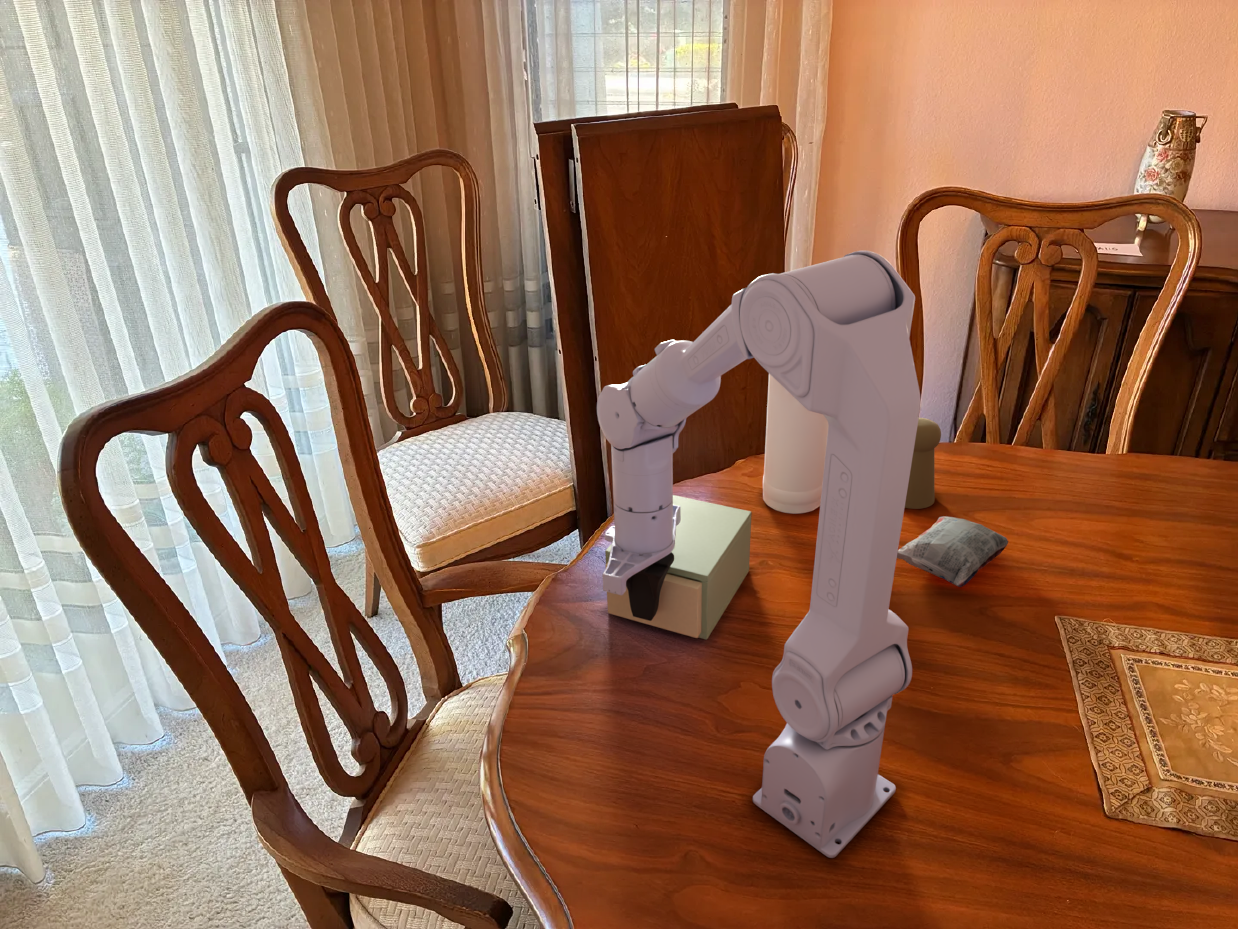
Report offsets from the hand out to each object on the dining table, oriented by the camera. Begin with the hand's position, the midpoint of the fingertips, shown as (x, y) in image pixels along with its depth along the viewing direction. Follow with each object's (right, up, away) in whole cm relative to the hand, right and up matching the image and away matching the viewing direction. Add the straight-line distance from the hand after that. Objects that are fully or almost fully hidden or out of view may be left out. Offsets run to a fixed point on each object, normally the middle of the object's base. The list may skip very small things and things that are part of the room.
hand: (645, 614), depth 88 cm
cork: (+36, +11, +25) cm, 45 cm away
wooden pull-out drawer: (+3, +1, +7) cm, 7 cm away
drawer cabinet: (+4, +1, +9) cm, 10 cm away
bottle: (+20, +11, +26) cm, 34 cm away
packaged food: (+35, +4, +12) cm, 37 cm away
